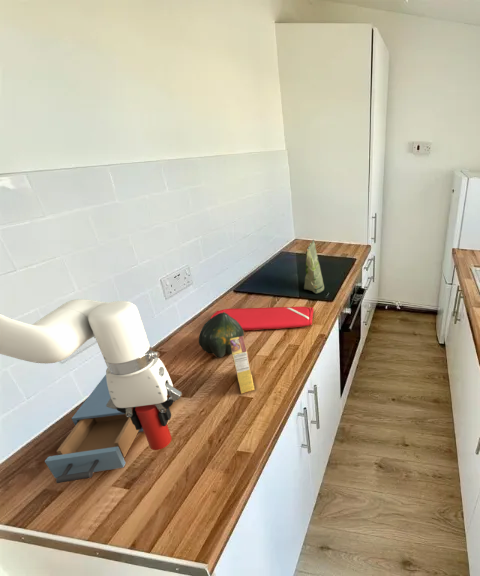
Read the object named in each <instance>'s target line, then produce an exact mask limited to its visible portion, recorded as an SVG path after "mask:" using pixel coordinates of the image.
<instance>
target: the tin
mask: <svg viewBox="0 0 480 576" xmlns="http://www.w3.org/2000/svg"><path fill="white" fill-rule="evenodd" d="M135 410H136V413H137V416H138V418H139V421H140V423H141V426H142V428H143V431H142V432H143V433H144V436H145V438H146V440H147V443H148V445H149V449H151V450H152V451H159V450H162V449H165V448H166V447H167V446H168V445H170V444H171V442H172V440H173V439H172V437H173V436H172V434H171V432H170V428H169V426H168V424H167V425H166V426H162V425H161V422H160V419H159V416H158V413H159V410H158V409H157V407H156V406H155V404H152V405H145V406H137V407H136V408H135Z"/></svg>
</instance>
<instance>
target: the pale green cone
mask: <svg viewBox="0 0 480 576" xmlns="http://www.w3.org/2000/svg"><path fill="white" fill-rule="evenodd" d="M316 247H317V245H316V243H315V240H314V239H312V241H311V242H310V243H309V245H308V246H307V247H306V249H305V270H304V271H305V276H304V285H303V290H307V291H311V292H313V293H314V294H320V293H322V292H323V291H325V284H324V279H323V275H322V269H321V265H320V262H319V257H318V253H317V248H316Z"/></svg>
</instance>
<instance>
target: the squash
mask: <svg viewBox="0 0 480 576" xmlns="http://www.w3.org/2000/svg"><path fill="white" fill-rule="evenodd" d="M211 317H212V316H211ZM211 317H210V318H211ZM210 318H209V319H208V320H207V321H206V322H205V323H204V324H203V326H202V328H201V329H200V331H199V335H198V345H199V346H200V348H201V349H202V351H204V352H205V353H207V354H209V355H213V356H215V357H216V358H219V359H221V358H223V357H224V356H225V355H227V356H228V355H230V356H231V355H232V351H231V345H230V339H231V338H236V337H240V336H243V338H244V336H245V330H243V329H242V327H241V326H240V324H239V323H238V322H237V321H236V320H235V319H234V318H232V317H230V316H229V315H228V314H226V313H225V312H223V313H219V314H217V315H216V316H214V317H212V318H211V319H210Z"/></svg>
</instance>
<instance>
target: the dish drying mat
mask: <svg viewBox="0 0 480 576" xmlns="http://www.w3.org/2000/svg"><path fill="white" fill-rule="evenodd" d="M314 311H315V310H314V307H309V306H277V307H276V306H275V307H274V306H273V307H244V308H242V307H241V308H239V307H238V308H233V307H232V308H225V309H220V310H216V311H215V313H213V314H212V315H211V317H210V318H209V320H210V319H211V318H212V317H214V316H216V315H217V314H219V313H223V312H225V313H226V314H228V315H229V316H230V317H232V318H234V319H235V320H236V321H237V322H238V323H239V324H240V326H241V327H242V329H243V331H260V330H261V331H262V330H276V329H290V328H302V327H303V328H304V327H309V326H312V325H313V318H314Z"/></svg>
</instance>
